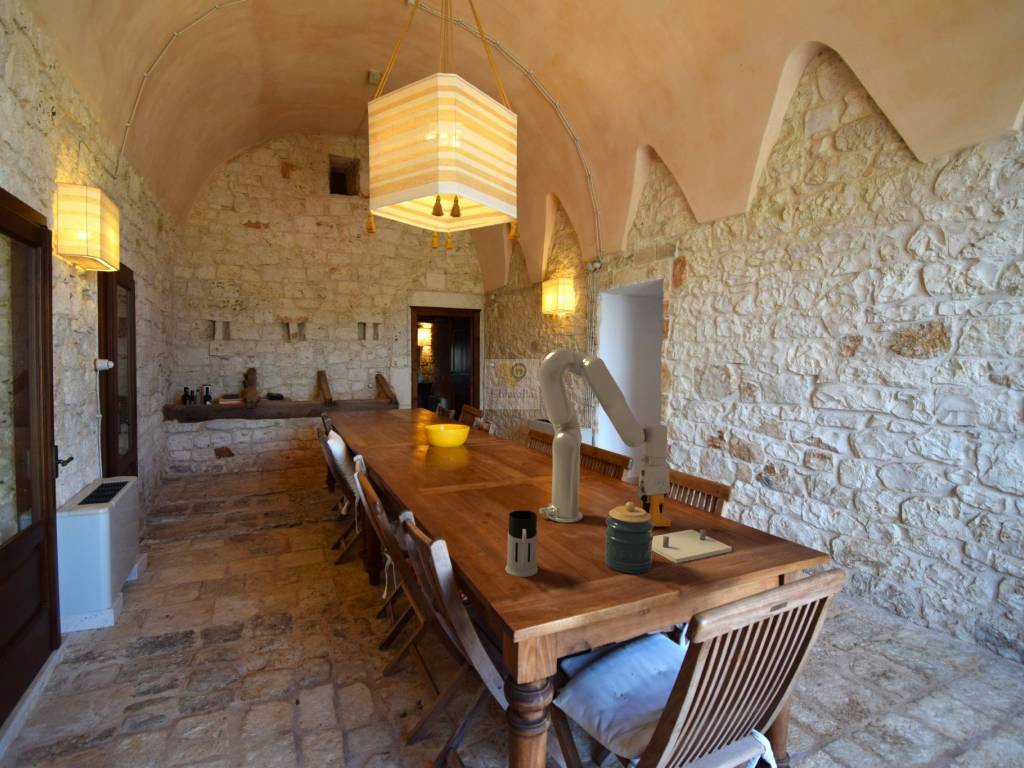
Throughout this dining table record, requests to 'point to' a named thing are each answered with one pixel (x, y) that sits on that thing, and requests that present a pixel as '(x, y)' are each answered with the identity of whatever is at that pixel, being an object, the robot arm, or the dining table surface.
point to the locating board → (687, 545)
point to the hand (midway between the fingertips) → (652, 512)
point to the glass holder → (522, 543)
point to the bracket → (656, 510)
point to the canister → (629, 539)
